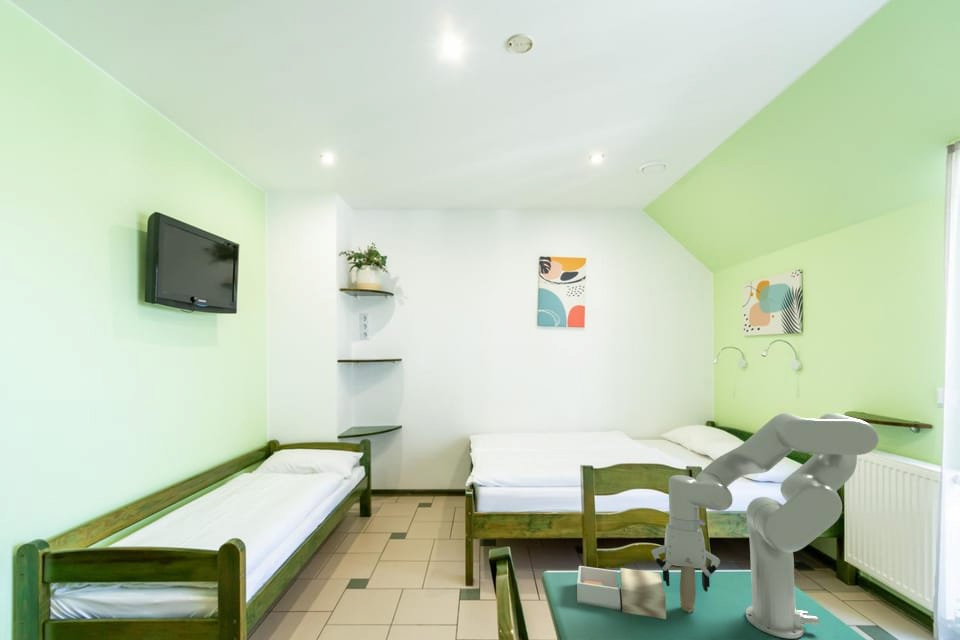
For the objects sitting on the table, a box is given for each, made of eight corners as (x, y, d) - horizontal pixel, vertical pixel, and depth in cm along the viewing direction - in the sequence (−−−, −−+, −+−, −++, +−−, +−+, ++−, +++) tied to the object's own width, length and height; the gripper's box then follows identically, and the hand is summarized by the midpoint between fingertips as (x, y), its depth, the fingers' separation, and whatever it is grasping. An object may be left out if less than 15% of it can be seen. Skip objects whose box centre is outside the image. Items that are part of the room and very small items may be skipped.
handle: (703, 616, 116) (703, 559, 117) (678, 613, 116) (678, 556, 117) (696, 606, 120) (697, 550, 121) (672, 603, 121) (673, 548, 122)
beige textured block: (660, 594, 126) (659, 573, 126) (666, 619, 114) (665, 595, 115) (620, 588, 129) (620, 567, 129) (622, 612, 117) (622, 589, 118)
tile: (584, 580, 128) (584, 589, 128) (584, 589, 123) (584, 598, 123) (601, 582, 126) (601, 591, 126) (602, 591, 122) (602, 601, 121)
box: (619, 589, 128) (618, 571, 129) (620, 609, 118) (620, 589, 119) (579, 584, 131) (579, 565, 132) (577, 602, 122) (577, 583, 122)
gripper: (715, 520, 121) (717, 584, 120) (649, 514, 126) (650, 574, 125) (722, 531, 114) (724, 599, 113) (652, 524, 119) (653, 588, 118)
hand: (685, 586), depth 119 cm, fingers open, 9 cm apart
